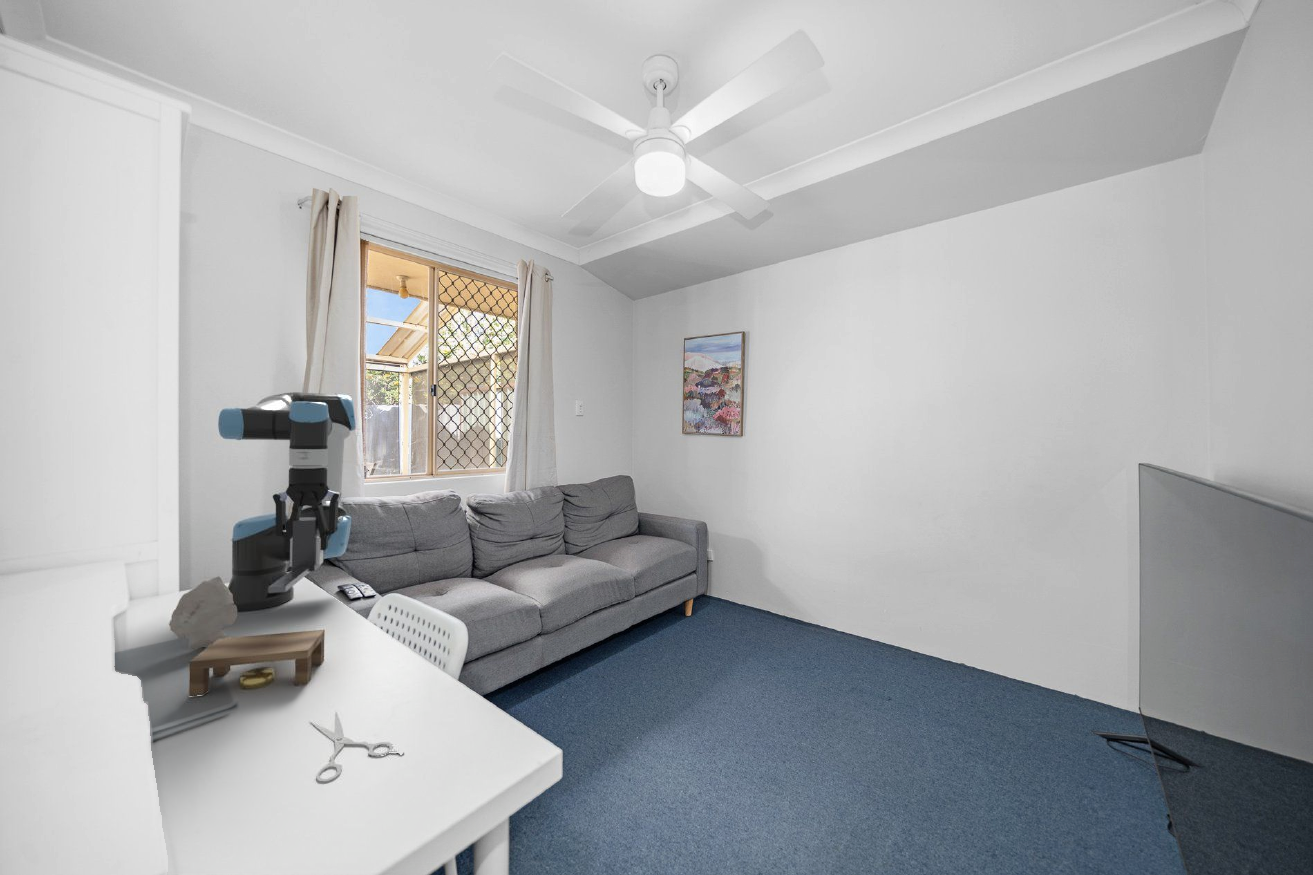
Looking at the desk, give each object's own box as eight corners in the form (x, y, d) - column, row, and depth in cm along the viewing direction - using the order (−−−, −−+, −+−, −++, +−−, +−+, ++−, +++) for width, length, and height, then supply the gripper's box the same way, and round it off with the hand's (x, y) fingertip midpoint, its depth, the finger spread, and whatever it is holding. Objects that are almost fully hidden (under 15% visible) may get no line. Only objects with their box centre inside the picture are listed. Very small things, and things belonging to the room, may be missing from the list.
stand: (218, 671, 98) (218, 638, 98) (324, 660, 104) (324, 629, 104) (189, 697, 89) (189, 661, 89) (307, 684, 94) (307, 650, 94)
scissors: (324, 789, 67) (284, 727, 80) (323, 794, 68) (283, 731, 80) (405, 752, 76) (356, 701, 89) (404, 757, 76) (356, 705, 89)
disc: (246, 679, 96) (247, 669, 96) (278, 675, 98) (278, 665, 98) (235, 692, 91) (235, 681, 91) (267, 688, 93) (268, 678, 93)
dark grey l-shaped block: (298, 567, 120) (299, 517, 120) (320, 565, 122) (321, 517, 121) (263, 593, 101) (264, 534, 101) (289, 591, 103) (290, 533, 103)
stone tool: (168, 658, 103) (169, 586, 103) (169, 652, 106) (170, 581, 105) (237, 643, 110) (238, 576, 110) (236, 638, 113) (237, 572, 113)
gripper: (257, 467, 112) (255, 571, 112) (346, 468, 118) (344, 566, 118) (270, 465, 119) (269, 562, 120) (354, 465, 125) (352, 558, 125)
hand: (306, 564), depth 119 cm, fingers closed on dark grey l-shaped block, 4 cm apart
